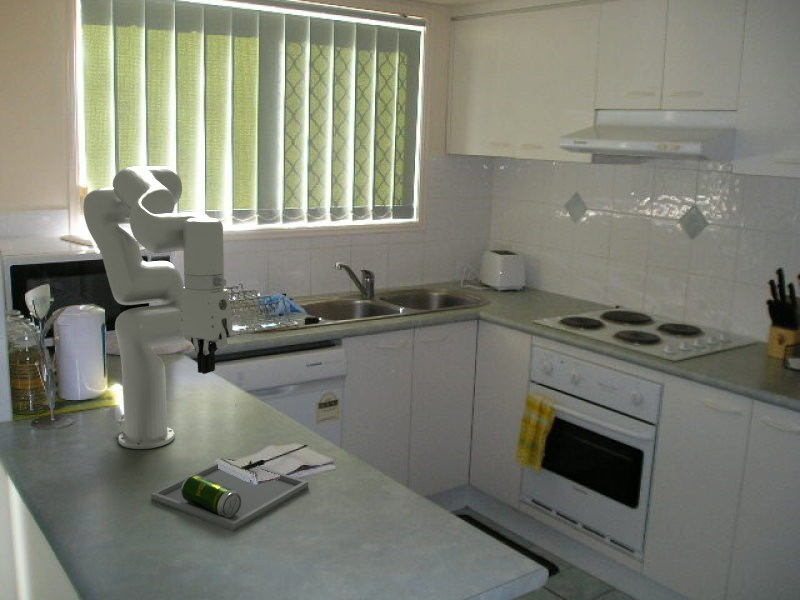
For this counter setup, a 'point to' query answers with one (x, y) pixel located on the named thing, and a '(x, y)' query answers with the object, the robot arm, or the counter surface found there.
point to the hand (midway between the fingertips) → (206, 371)
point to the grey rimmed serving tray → (253, 496)
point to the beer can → (211, 496)
